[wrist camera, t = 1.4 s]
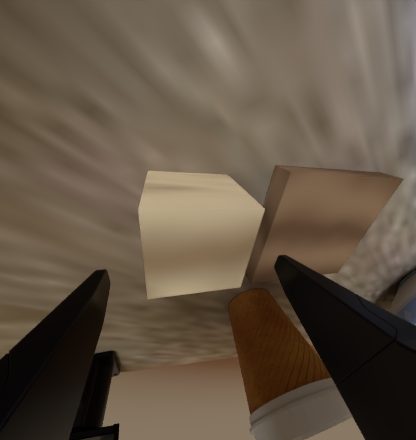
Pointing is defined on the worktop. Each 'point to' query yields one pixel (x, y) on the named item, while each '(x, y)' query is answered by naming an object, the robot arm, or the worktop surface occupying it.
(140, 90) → the worktop surface
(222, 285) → the maple cube
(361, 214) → the walnut board
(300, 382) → the disposable coffee cup
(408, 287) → the ramen bowl
